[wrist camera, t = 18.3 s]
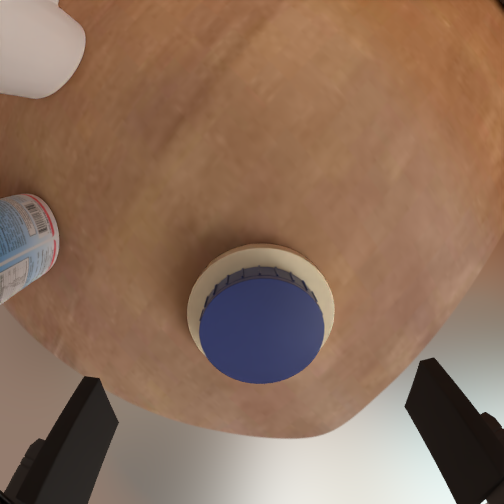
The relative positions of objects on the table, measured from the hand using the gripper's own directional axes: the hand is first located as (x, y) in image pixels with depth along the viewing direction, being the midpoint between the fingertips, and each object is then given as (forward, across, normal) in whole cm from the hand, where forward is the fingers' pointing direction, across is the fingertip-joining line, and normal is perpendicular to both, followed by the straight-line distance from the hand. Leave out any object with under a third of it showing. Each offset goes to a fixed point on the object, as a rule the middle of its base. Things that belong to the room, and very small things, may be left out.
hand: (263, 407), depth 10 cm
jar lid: (+6, 0, 0) cm, 6 cm away
